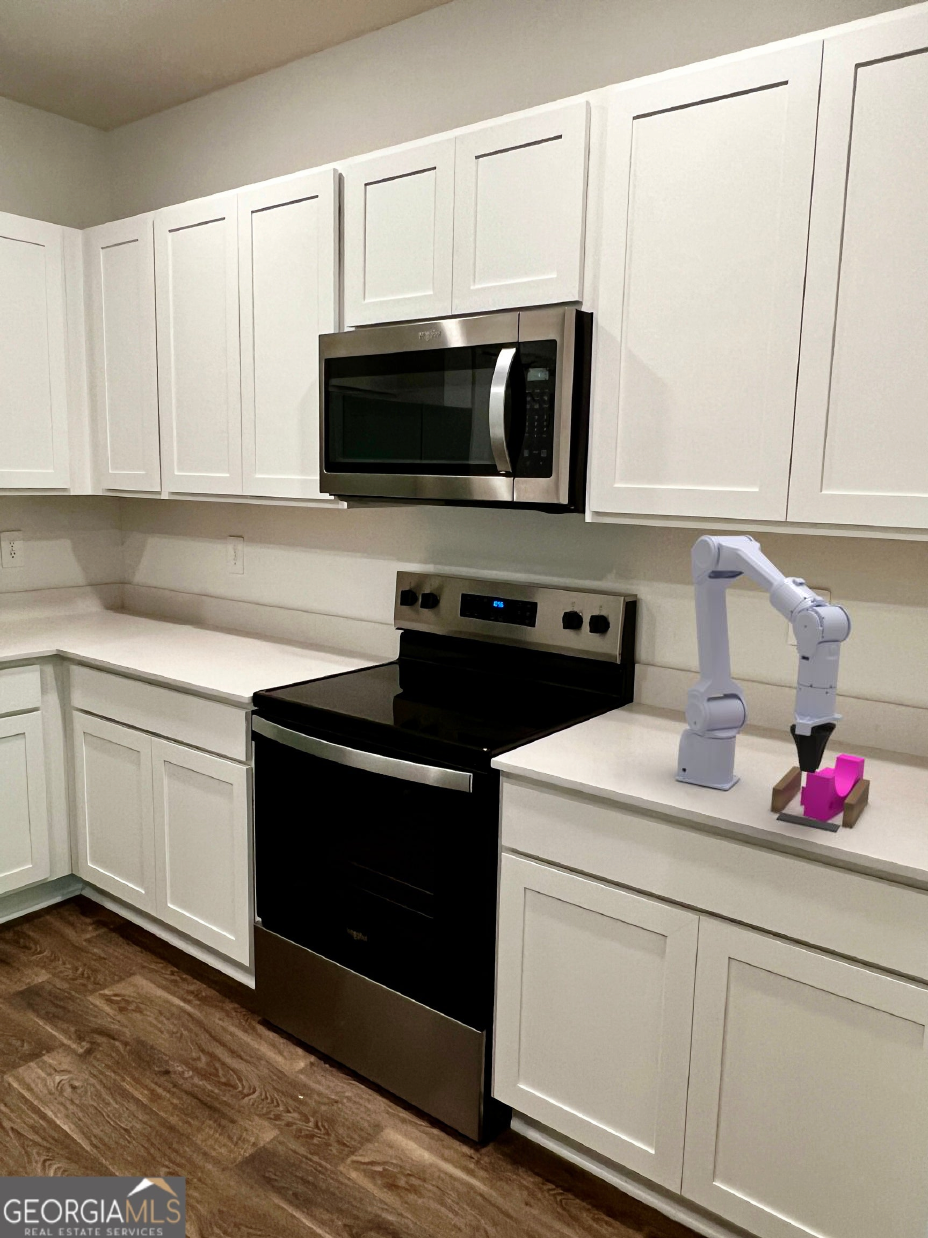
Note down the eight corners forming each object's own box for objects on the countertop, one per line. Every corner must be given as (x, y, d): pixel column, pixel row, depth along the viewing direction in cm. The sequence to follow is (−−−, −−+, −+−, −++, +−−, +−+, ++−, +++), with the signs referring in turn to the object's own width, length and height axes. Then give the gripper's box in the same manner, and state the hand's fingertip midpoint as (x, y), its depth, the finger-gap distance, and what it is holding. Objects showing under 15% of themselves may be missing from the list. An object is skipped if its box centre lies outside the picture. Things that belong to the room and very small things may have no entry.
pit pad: (776, 819, 145) (776, 818, 144) (781, 814, 147) (781, 812, 147) (835, 832, 140) (836, 830, 140) (839, 826, 142) (839, 825, 142)
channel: (770, 811, 148) (772, 787, 148) (791, 787, 160) (793, 766, 159) (852, 828, 141) (854, 804, 141) (867, 803, 153) (870, 780, 152)
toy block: (824, 791, 159) (828, 750, 158) (861, 800, 155) (864, 758, 154) (788, 813, 148) (791, 769, 147) (826, 823, 144) (829, 778, 143)
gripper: (834, 697, 130) (826, 787, 132) (853, 679, 142) (846, 762, 144) (784, 690, 134) (777, 778, 136) (807, 673, 146) (800, 754, 148)
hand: (809, 769), depth 140 cm, fingers closed
